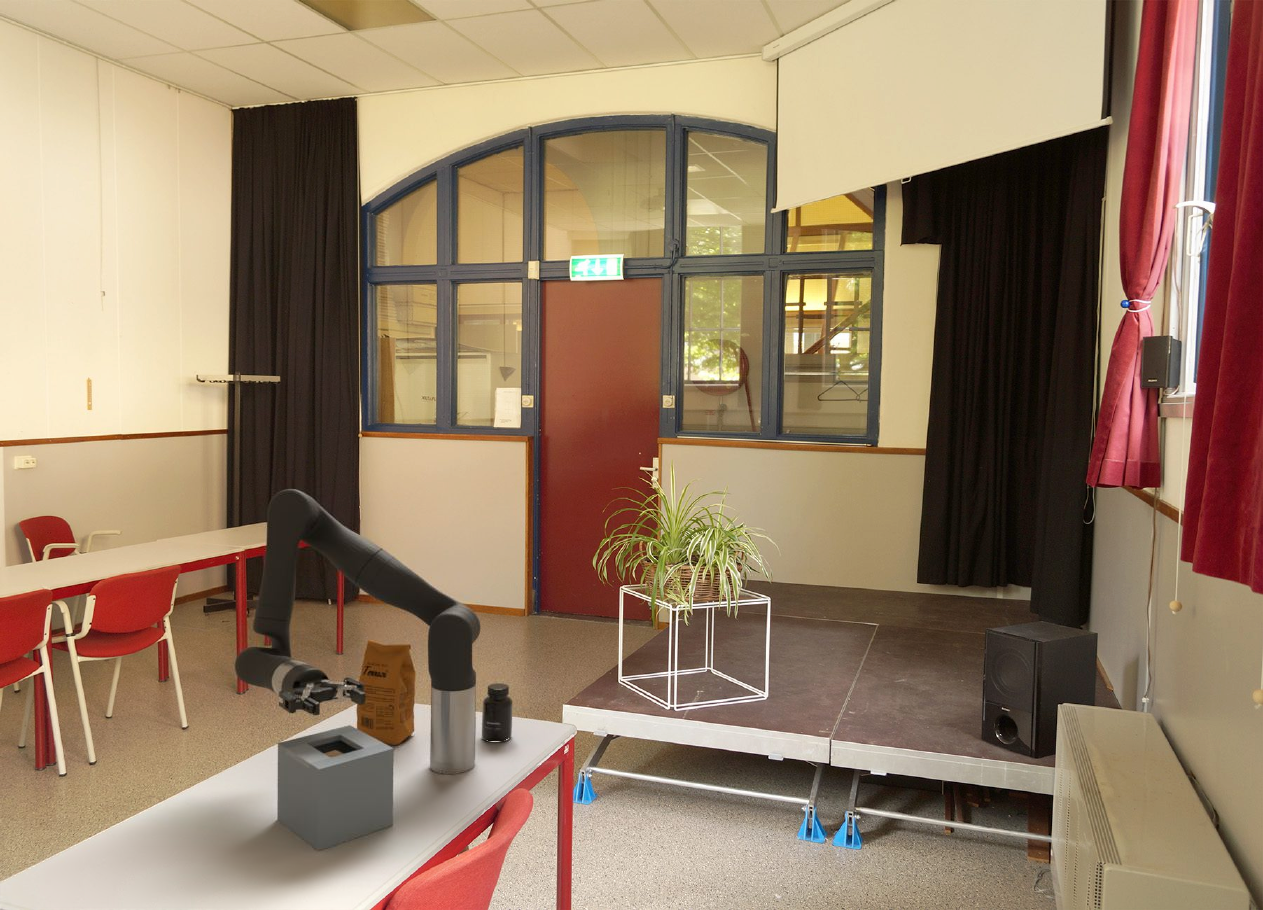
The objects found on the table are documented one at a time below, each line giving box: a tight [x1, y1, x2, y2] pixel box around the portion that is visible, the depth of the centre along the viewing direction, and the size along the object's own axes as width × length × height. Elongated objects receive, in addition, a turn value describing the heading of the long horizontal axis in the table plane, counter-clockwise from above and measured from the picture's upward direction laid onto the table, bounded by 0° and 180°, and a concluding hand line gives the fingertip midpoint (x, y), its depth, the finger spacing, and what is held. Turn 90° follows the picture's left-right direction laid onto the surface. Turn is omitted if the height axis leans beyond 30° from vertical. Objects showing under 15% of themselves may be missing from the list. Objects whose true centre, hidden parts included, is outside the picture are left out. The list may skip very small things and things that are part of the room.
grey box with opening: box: [276, 724, 395, 852], centre depth 160 cm, size 16×14×14 cm
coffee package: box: [356, 639, 416, 746], centre depth 203 cm, size 10×12×22 cm
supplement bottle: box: [481, 682, 514, 742], centre depth 204 cm, size 7×7×12 cm
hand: (340, 704), depth 158 cm, fingers open, 8 cm apart
